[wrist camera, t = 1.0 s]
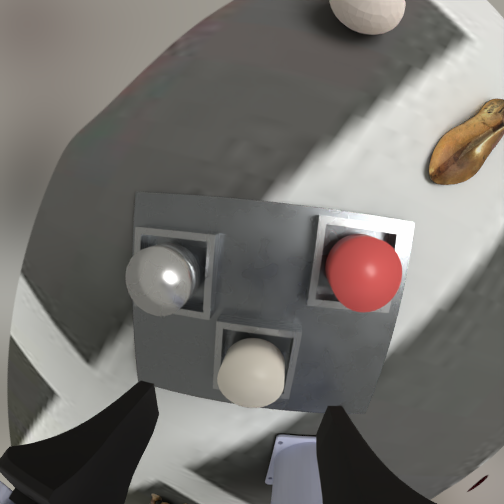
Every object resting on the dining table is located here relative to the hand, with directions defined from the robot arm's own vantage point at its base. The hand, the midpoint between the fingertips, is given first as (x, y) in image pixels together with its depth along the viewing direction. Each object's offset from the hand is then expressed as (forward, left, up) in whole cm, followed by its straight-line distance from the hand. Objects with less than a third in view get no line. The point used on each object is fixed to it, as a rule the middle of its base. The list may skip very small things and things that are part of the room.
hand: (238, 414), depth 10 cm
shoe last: (+17, -17, -13) cm, 27 cm away
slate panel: (0, 0, -12) cm, 12 cm away
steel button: (+3, +7, -9) cm, 12 cm away
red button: (+5, -6, -9) cm, 12 cm away
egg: (+26, -6, -13) cm, 30 cm away
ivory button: (-3, 0, -9) cm, 10 cm away
